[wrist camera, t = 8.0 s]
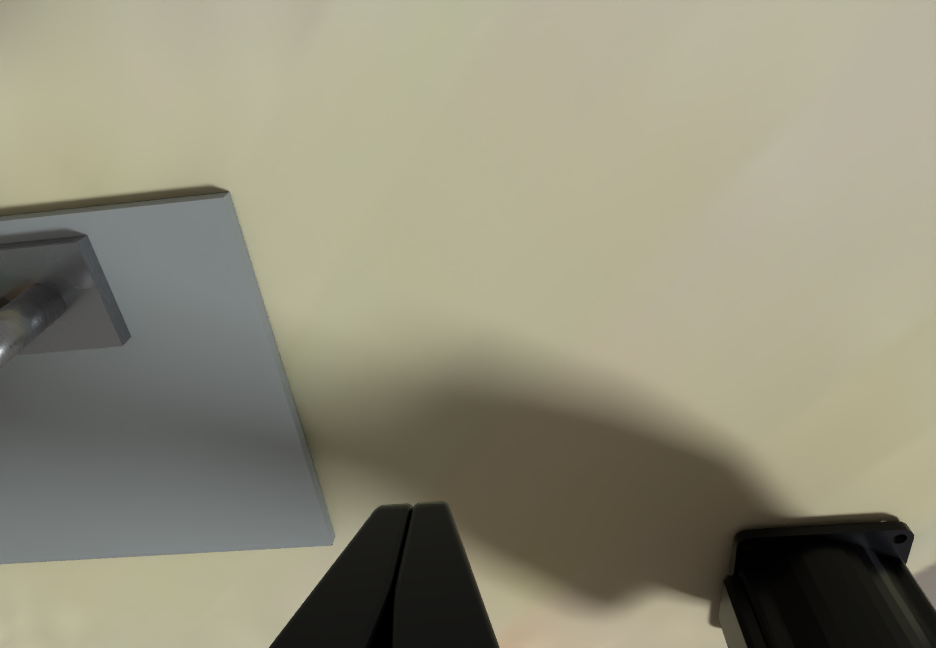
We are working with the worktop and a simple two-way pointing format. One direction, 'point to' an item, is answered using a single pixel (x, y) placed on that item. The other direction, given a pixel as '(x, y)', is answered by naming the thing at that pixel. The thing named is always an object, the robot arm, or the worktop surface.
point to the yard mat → (157, 403)
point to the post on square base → (55, 299)
